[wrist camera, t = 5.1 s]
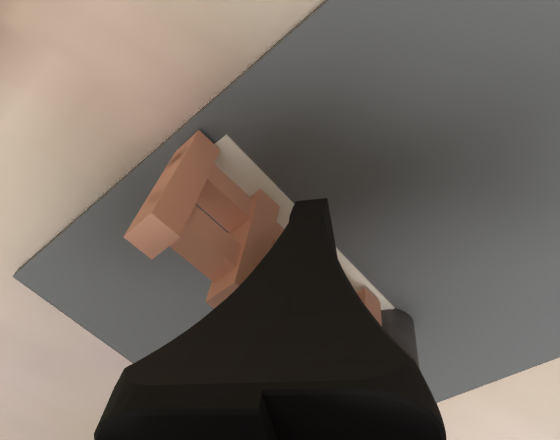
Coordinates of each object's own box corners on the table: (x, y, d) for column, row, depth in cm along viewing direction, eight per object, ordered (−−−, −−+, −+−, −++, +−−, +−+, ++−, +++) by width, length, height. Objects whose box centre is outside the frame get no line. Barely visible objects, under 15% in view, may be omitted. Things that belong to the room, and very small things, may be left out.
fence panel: (380, 301, 17) (386, 409, 13) (356, 315, 17) (356, 422, 14) (198, 129, 14) (150, 212, 10) (175, 150, 14) (122, 237, 11)
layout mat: (273, 457, 24) (272, 465, 23) (17, 270, 18) (11, 277, 18) (748, 277, 15) (756, 285, 15) (518, -169, 10) (523, -169, 10)
